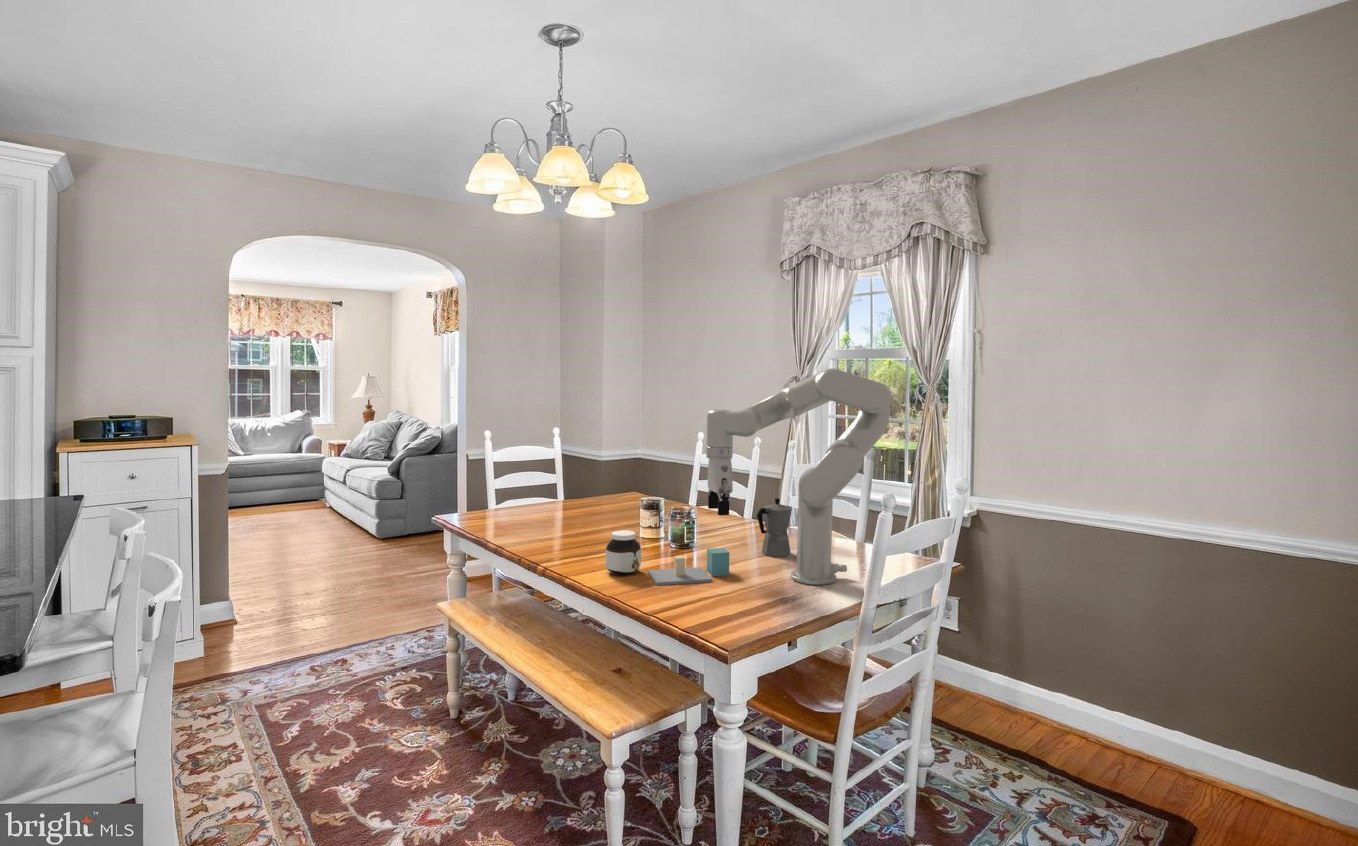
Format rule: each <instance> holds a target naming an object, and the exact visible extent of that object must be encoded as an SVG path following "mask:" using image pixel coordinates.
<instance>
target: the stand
mask: <svg viewBox="0 0 1358 846" xmlns="http://www.w3.org/2000/svg"><path fill="white" fill-rule="evenodd" d="M647 574H648V576H649V577H650V579H651V580H652V581H653V583H654V585H656V586H665V585H666V586H667V585H681V584H682V585H683V584H700V583H712V582H713V578H712V576H711V575H710V574H709V573H708V572H707V571H705V570H704V568H702V567H697V566H696V567H686V558H685V556H684V555H675V556H673V568H666V569H665V568H663V569H649V570H647Z"/></svg>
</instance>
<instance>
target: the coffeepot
mask: <svg viewBox="0 0 1358 846" xmlns="http://www.w3.org/2000/svg"><path fill="white" fill-rule="evenodd" d="M780 501H781V499H780V498H778V497H777V498H774V502H775V503H773V504H767V505H764V506H762V507H761V508H759V510H758V512H757V513H756V517H757V521H758V526H759V531H760V533H761V534H764V537H763V544H762V548H761V553H762V554H763V555H764V556H767V557H772V558H785V557H788V556H790V554H792V553H791V545H790V540H789V534H788V529H789V528H790V523H791V516H792V511H793V508H792V506H790V505H785V504H780ZM765 528H766V530H765Z"/></svg>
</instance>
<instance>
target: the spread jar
mask: <svg viewBox="0 0 1358 846" xmlns="http://www.w3.org/2000/svg"><path fill="white" fill-rule="evenodd" d="M604 557H605V560H604V561H605V568H606V570H607V571H608V572H609V573H610V574H612V575H614V576H618V577H625V576H626V577H628V576H633V575H635V574H636V573H637V572H638V571H639V570H640V567H641V565H642V564H641V563H642V547H641V544H640V543H639V541H638V540H637V539H636V532H635V531H633V530H623V529H622V530H614V531H612V532H611V539H610V540H609V541H608V543H607V545H606V548H605V555H604Z"/></svg>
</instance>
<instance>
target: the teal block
mask: <svg viewBox="0 0 1358 846" xmlns="http://www.w3.org/2000/svg"><path fill="white" fill-rule="evenodd" d="M706 573H707V574H708V575H709V576H710V577H715V576H716V577H718V576H719V577H720V576H729V575H730V552H729V550H727V549H726V548H725V547H720V548H719V547H717V548H707V549H706Z"/></svg>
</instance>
